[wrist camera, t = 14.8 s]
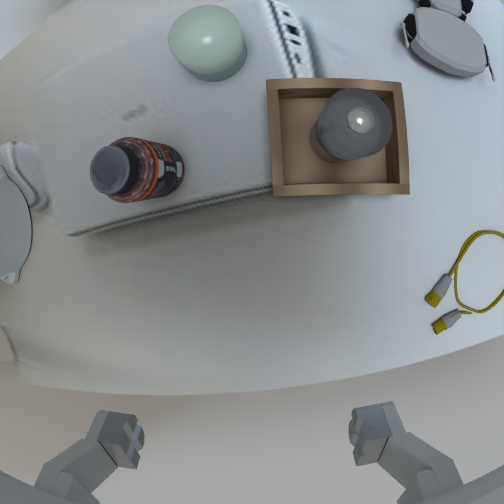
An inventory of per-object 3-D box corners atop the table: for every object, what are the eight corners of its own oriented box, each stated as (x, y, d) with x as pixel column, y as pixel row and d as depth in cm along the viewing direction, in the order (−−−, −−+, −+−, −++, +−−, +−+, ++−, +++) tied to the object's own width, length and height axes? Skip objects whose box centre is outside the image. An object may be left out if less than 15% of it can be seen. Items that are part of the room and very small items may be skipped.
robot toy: (388, -23, 25) (395, 64, 28) (397, -42, 21) (409, 48, 23) (466, 6, 24) (480, 93, 27) (480, -8, 20) (499, 84, 22)
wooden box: (274, 193, 33) (273, 196, 28) (268, 93, 30) (265, 79, 25) (392, 191, 31) (409, 194, 27) (385, 94, 29) (401, 82, 24)
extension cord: (420, 242, 33) (426, 246, 31) (512, 222, 31) (521, 224, 29) (422, 332, 35) (427, 340, 33) (509, 304, 33) (516, 309, 31)
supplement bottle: (194, 156, 33) (153, 148, 22) (172, 205, 34) (125, 219, 23) (149, 137, 33) (95, 124, 22) (130, 184, 34) (72, 190, 23)
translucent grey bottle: (310, 163, 31) (326, 156, 19) (307, 116, 30) (320, 83, 18) (358, 163, 30) (398, 157, 19) (355, 116, 29) (392, 86, 17)
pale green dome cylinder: (186, 85, 31) (167, 70, 25) (185, 34, 29) (168, 12, 23) (248, 77, 30) (241, 58, 24) (245, 25, 28) (237, 0, 23)
